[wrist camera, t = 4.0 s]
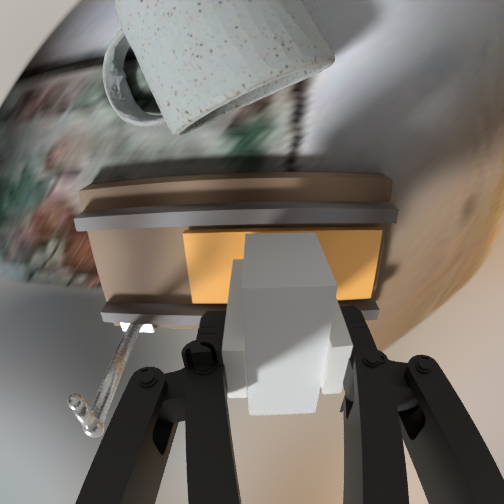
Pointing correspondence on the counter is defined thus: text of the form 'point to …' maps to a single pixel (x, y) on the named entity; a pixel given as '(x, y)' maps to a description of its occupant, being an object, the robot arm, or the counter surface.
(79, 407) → the keeper hook
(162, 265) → the brown piece
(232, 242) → the white block on base
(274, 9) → the ceramic mug
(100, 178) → the counter surface
